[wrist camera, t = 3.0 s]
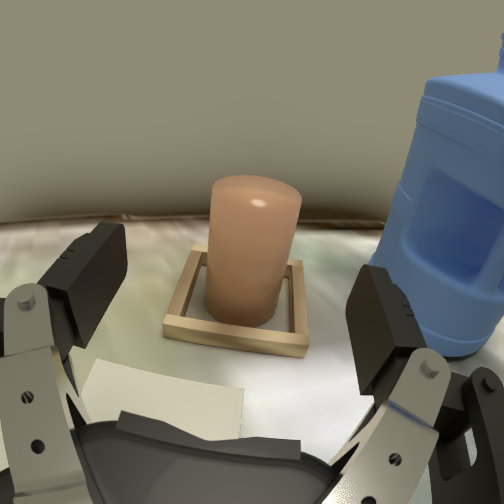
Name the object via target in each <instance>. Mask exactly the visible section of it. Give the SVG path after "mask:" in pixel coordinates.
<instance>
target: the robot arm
mask: <svg viewBox="0 0 504 504" xmlns="http://www.w3.org/2000/svg"><path fill="white" fill-rule="evenodd" d="M127 266H128V261H127V250H126V237H125V228H124V225H123V224H120V223H113V222H107V221H101V222H100V223H99V224H98V225H97V226H96V227H95V228H94V229H93V230H92V231H91V233H86V234H84V235H82V236H80V237H79V238H77V239H75V240H74V241H73V242H72V243H71V244H70V245H69V246H68V248H67V249H66V251H64V252H63V253H62V254H61V255H60V258H58V259H57V260H56V261H55V262H54V263H53V265H52V266H51V267H50V268H49V269H48V270H47V272H46V273H45V274H44V275H43V276H42V278H41V279H40V280H39V281H38V282H37V284H34V283H29V284H24V285H21V286H19V287H17V288H15V289H14V290H12V291H11V292H10V293H9V295H8V296H7V298H0V420H1V427H2V433H3V439H4V444H5V450H6V454H7V459H8V463H9V467H8V468H6V469H4V470H3V471H1V472H0V504H408V502H409V500H410V498H411V497H412V495H413V493H414V491H415V489H416V487H417V485H418V483H419V481H420V479H421V477H422V475H423V473H424V470H425V468H426V466H427V464H428V466H429V474H430V482H431V492H432V504H504V387H503V384H502V382H501V380H500V379H499V377H498V376H497V375H496V374H495V373H494V372H493V371H491V370H490V369H488V368H484V367H480V368H477V369H476V370H475V371H474V372H473V373H472V374H471V375H470V376H469V377H466V376H463V375H460V374H457V373H453V372H451V371H450V367H449V365H448V363H447V361H446V360H445V359H444V357H443V356H441V355H440V354H439V353H438V352H436V351H434V350H432V349H428V347H427V345H426V342H425V340H424V337H423V334H422V332H421V329H420V327H419V325H418V322H417V320H416V318H415V317H414V316H415V315H414V313H413V310H412V308H410V307H411V305H410V303H409V301H408V299H407V296H406V294H405V293H404V292H403V291H402V290H401V289H400V288H399V287H398V286H397V284H393V283H392V280H391V278H390V276H389V274H388V271H387V269H386V268H384V267H378V266H372V265H366V264H365V265H363V266H362V268H361V269H360V272H359V274H358V277H357V279H356V281H355V284H354V286H353V288H352V291H351V293H350V295H349V298H348V300H347V304H346V320H347V325H348V330H349V335H350V340H351V345H352V350H353V356H354V361H355V367H356V372H357V378H358V384H359V390H360V395H373V397H374V403H373V404H372V405H371V406H370V408H369V409H368V411H367V412H366V414H365V415H364V417H363V418H362V420H361V421H360V423H359V424H358V426H357V427H356V429H355V430H354V432H353V433H352V434H351V436H350V437H349V439H348V440H347V441H346V443H345V444H344V445H343V447H342V448H341V449H340V450H339V452H338V453H337V454H336V455H335V456H334V457H333V458H332V459H331V461H330V462H329V463H328V464H327V463H326V462H324V461H322V460H321V459H319V458H317V457H315V456H312V455H310V454H308V453H305V452H301V442H300V440H288V439H275V438H264V437H250V438H240V439H229V440H216V441H209V440H204V439H202V438H199V437H197V436H195V435H192V434H190V433H188V432H186V431H183V430H181V429H179V428H177V427H175V426H173V425H170V424H168V423H166V422H164V421H161V420H157V419H153V418H149V417H145V416H141V415H137V414H134V413H130V412H126V411H123V410H121V412H120V415H119V418H118V420H110V421H100V422H94V423H92V422H91V419H90V417H89V415H88V413H87V411H86V408H85V406H84V403H83V400H82V396H81V393H80V390H79V386H78V383H77V379H76V375H75V371H74V368H73V364H72V359H71V356H70V353H69V352H70V350H71V348H72V346H73V345H74V346H77V347H80V348H84V349H86V347H87V345H88V343H89V341H90V339H91V337H92V335H93V334H94V332H95V330H96V328H97V326H98V324H99V323H100V321H101V319H102V317H103V315H104V314H105V312H106V310H107V308H108V306H109V305H110V303H111V301H112V299H113V298H114V296H115V294H116V293H117V291H118V289H119V287H120V286H121V284H122V282H123V281H124V279H125V276H126V273H127ZM470 428H472V431H473V435H474V439H475V444H476V448H477V458H476V461H475V463H474V464H473V465H472V466H471V465H470V459H469V454H468V449H467V444H466V440H465V435H464V433H465V432H467V431H468V430H469V429H470Z"/></svg>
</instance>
